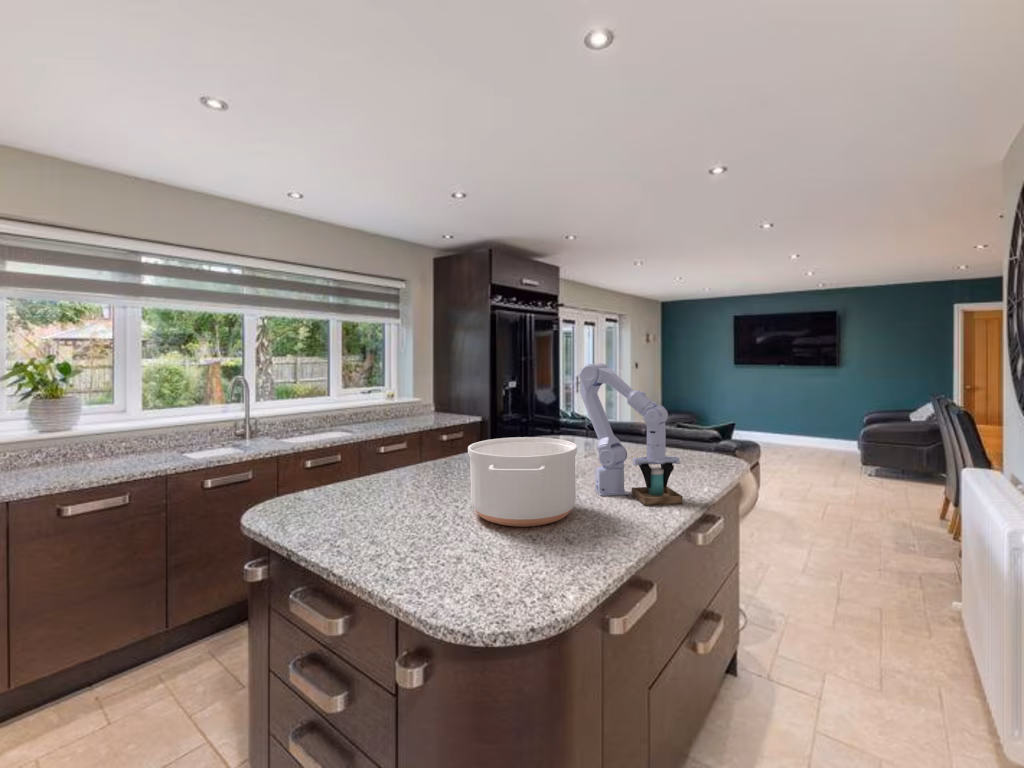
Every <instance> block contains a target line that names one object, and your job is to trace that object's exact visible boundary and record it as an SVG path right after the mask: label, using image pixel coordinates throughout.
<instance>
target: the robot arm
mask: <svg viewBox="0 0 1024 768" xmlns="http://www.w3.org/2000/svg"><path fill="white" fill-rule="evenodd" d="M578 377H579V379H580V384H579V385H580V386H579V392H580V397H581V399H582V402H583V403H584V406H585V409H586V412H587V414H588V416H589V419H590V422H591V424H592V427H593V429H594V432H595V433H596V434H595V435H596V436H597V440H598V445H597V446H596V448H597V451H598V461H599V462H600V464H601V466H596V467H595V469H594V470H595V471H594V491H595V492H596V493H597V494H599V496H602V497H603V496H605V497H606V496H627V495H629V492H628V491H626V489H625V461H626V460H627V458H628V450H627V449H626V448H625V447H624V446H623V444H622V443H621V441H620V439H618V437H616V436H615V435H614V432H613V429H612V427H611V424H610V422H609V419H608V417H607V414H606V412H605V410H604V406H603V405H602V402H601V399H600V397H599V395H598V392H599V390H600V388H601V386H602V385H603V384H606V385H609V386H610V387H612V388H613V389H614V390H615V391H617V392H618V393H619V394H621V395H622V396H624V397H625V398H626V401H627V404H628V406H630V407H631V409H633V410H634V411H635V412H637V413H638V414H639V415H640V416H642V419H643V421H644V422H645V424H646V456H644V457H643V456H642V457H636V458H635V457H633V458H632V466H639V467H638V468H639V470H641V473H642V475H643V478H644V482H645V487H648V488H650V487H651V481H650V477H651V469H652V468H651V467H652V466H650V465H660V468H663V469H664V487H668V483H669V478H670V476H671V474H672V473H673V471H674V468H675V466H674V464H676V465H679V464H680V457H679V456H666V452H667V451H666V448H667V447H666V445H667V444H666V442H667V440H666V437H667V436H666V422H667V420H668V418H669V413H668V411H667V409H666V408H665V407H664V405H658V402H656V401H653V400H651V398H649V397H648V396H647V392H646V391H643V390H642V391H641V390H634V389H633V388H632V387H630V385H628V384H627V383H626V382H625V381H624V380H623V379H622V378H621V377H620V376H619V375H618V374H617V373H615V372H614V370H613V369H612V368H610V367H609V366H607V365H606V364H605V363H587V364H584V365H583V366H582V368H581V370H580V371H579V373H578Z"/></svg>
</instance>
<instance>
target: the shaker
mask: <svg viewBox="0 0 1024 768" xmlns="http://www.w3.org/2000/svg"><path fill="white" fill-rule="evenodd" d="M650 467H651V468H652V469H651V477H650V481H651V487H650V488H649V494H650V495H654V496H661V495H663V494H664V469H663V468H661V467H660V466H659V467H658V466H657V467H656V466H650Z"/></svg>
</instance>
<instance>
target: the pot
mask: <svg viewBox="0 0 1024 768" xmlns="http://www.w3.org/2000/svg"><path fill="white" fill-rule="evenodd" d="M577 453H578V445H577V444H576V443H574V442H572V441H569V440H566V439H559V438H551V437H535V436H534V437H533V436H530V437H529V436H523V437H521V436H517V437H501V438H493V439H492V438H491V439H486V440H485V439H484V440H481V441H478V442H477V441H476V442H474V443H471V444H470V445H468V446H467V455H468V456H469V466H470V467H469V468H470V469H469V470H470V471H469V472H470V473H469V474H470V475H469V476H470V502H471V507H472V509H474V511H475V513H476V514H477V515H478V516H479V517H481V518H482V519H484V520H485V521H488V522H491V523H494V524H497V525H502V526H507V527H517V528H518V527H520V528H521V527H538V526H544V525H547V524H552V523H555V522H558V521H560V520H562V519H564V518H565V517H566V516H567V515H569V514H570V513H571V512H572V510H573V508H575V506H576V505H575V504H576V499H577V498H576V492H577V491H576V488H577V487H576V454H577Z"/></svg>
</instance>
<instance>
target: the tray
mask: <svg viewBox="0 0 1024 768" xmlns="http://www.w3.org/2000/svg"><path fill="white" fill-rule="evenodd" d="M631 496H632V497H633V498H634V499H636V500H637V501H638V502H639V503H640V504H642V505H643V506H644V507H650V506H653V507H655V506H670V505H671V506H673V505H675V506H677V505H684V504H683V502H684V501H683V499H684V498H683V495H681V494H680V493H678V492H677V491H675V490H673V488H670V487H669V486H667V487H664V494H663V495H661V496H654V495H650V494H649V488H648V487H646V486H641V487H640V486H639V487H637V486H636V487H631Z"/></svg>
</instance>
